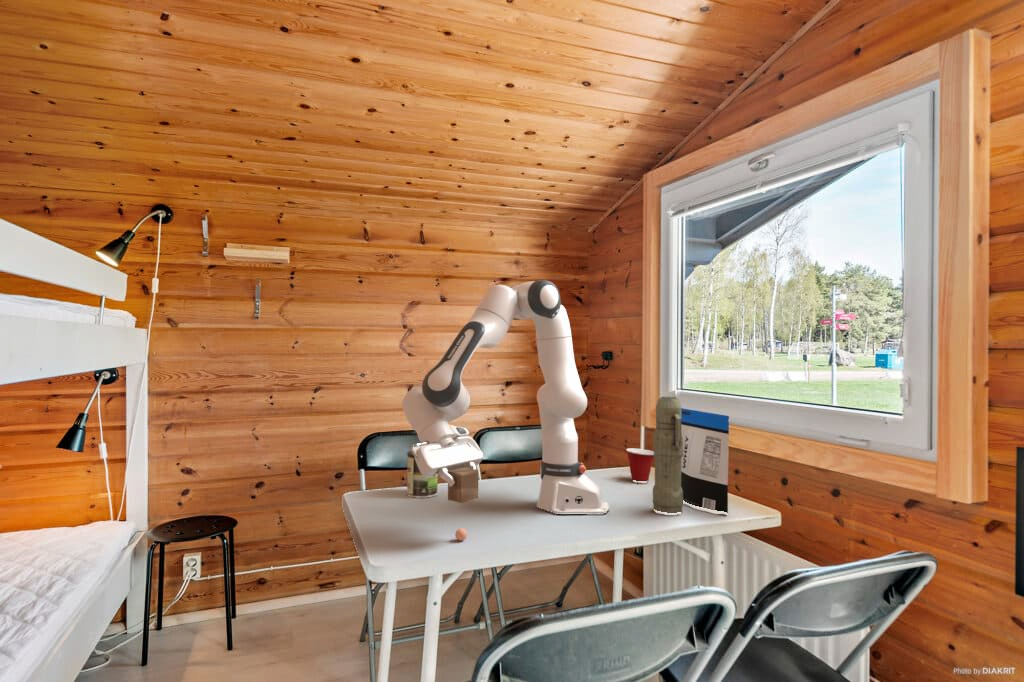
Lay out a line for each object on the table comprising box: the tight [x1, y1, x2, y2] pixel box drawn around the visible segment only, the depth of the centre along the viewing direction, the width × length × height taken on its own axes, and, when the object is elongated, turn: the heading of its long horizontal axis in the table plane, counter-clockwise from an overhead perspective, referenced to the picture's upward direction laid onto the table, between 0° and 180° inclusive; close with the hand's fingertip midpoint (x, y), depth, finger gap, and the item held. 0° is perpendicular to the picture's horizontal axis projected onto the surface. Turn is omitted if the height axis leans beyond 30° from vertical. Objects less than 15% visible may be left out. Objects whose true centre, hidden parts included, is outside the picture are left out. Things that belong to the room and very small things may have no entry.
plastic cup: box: [626, 447, 655, 481], centre depth 219 cm, size 11×11×12 cm
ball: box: [454, 528, 468, 542], centre depth 151 cm, size 3×3×3 cm
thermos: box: [652, 396, 684, 513], centre depth 180 cm, size 9×12×35 cm
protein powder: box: [681, 407, 730, 514], centre depth 188 cm, size 10×24×30 cm, turn 20°
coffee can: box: [406, 450, 439, 499], centre depth 197 cm, size 10×10×14 cm
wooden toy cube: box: [447, 468, 479, 504], centre depth 151 cm, size 5×6×7 cm
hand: (464, 481), depth 151 cm, fingers closed on wooden toy cube, 6 cm apart
